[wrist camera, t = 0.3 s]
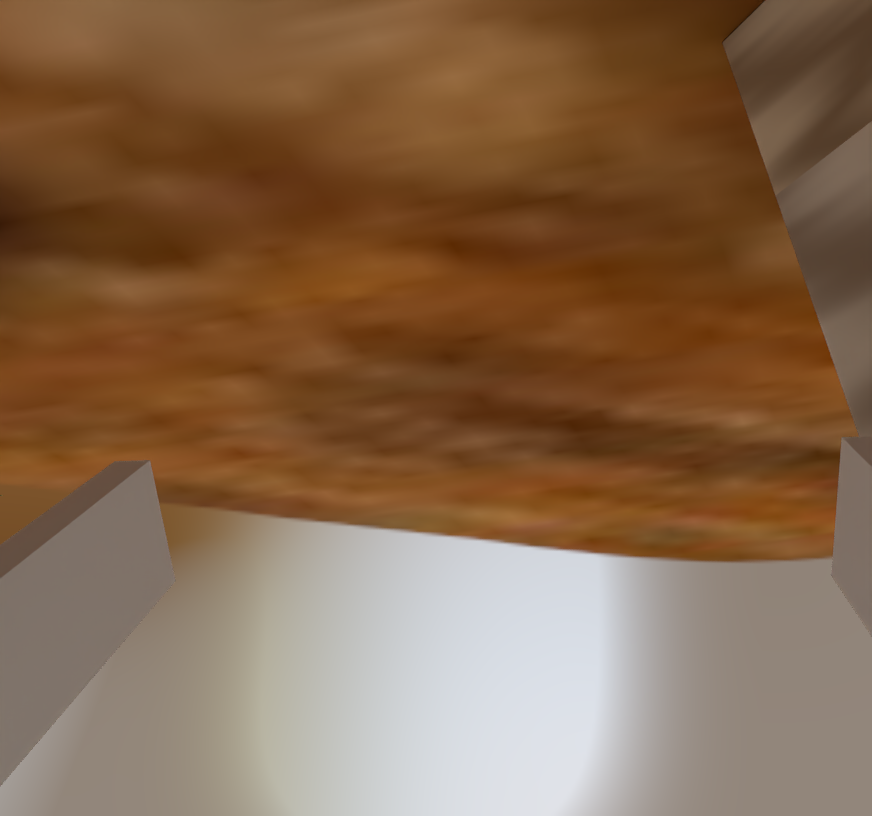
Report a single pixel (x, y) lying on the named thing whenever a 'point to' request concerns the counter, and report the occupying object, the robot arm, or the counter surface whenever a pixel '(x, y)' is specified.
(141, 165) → the counter surface
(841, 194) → the block stand
